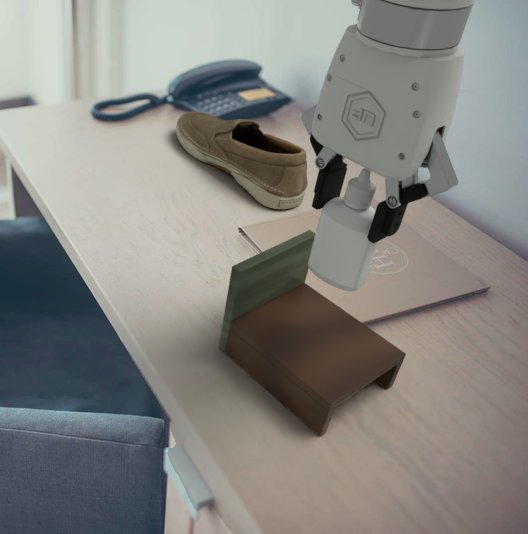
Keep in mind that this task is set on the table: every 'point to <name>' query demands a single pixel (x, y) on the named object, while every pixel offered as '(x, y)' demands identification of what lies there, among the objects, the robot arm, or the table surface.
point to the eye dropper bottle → (345, 236)
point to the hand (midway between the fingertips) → (352, 218)
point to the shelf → (300, 336)
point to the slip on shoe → (247, 157)
